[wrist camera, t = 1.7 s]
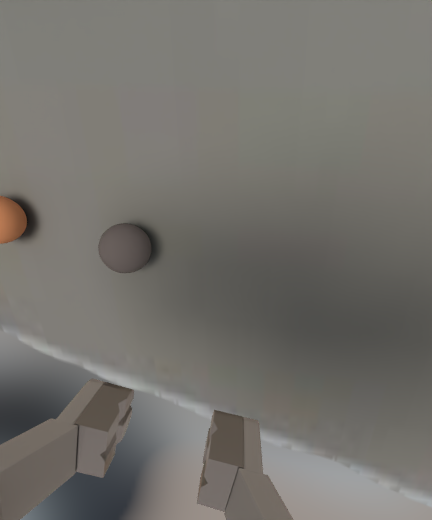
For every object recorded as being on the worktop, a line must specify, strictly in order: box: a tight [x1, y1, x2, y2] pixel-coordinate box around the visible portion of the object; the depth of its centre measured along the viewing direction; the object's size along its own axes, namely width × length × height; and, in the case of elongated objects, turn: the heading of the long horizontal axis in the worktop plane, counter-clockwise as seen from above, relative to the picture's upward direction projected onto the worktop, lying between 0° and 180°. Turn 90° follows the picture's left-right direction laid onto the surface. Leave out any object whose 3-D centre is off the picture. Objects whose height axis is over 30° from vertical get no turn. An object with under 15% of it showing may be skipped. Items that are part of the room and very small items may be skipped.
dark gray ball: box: [98, 224, 151, 273], centre depth 25 cm, size 5×5×5 cm
